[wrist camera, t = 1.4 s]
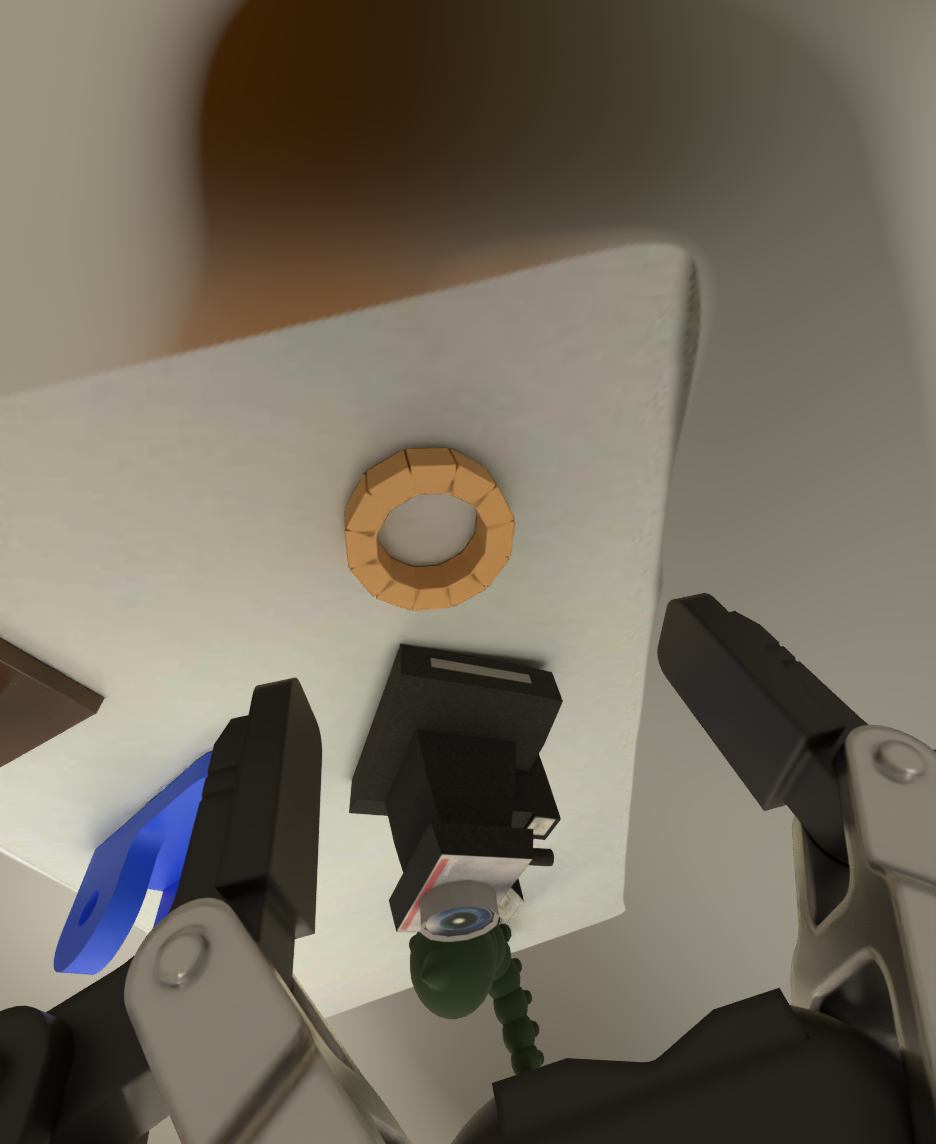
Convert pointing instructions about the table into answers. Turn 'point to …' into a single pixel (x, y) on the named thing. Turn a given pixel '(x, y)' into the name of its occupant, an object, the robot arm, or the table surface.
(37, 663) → the brown peg stand
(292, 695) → the robot arm
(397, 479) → the orange segmented ring
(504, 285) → the table surface
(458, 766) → the camera
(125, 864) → the bracket
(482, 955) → the toy figurine
